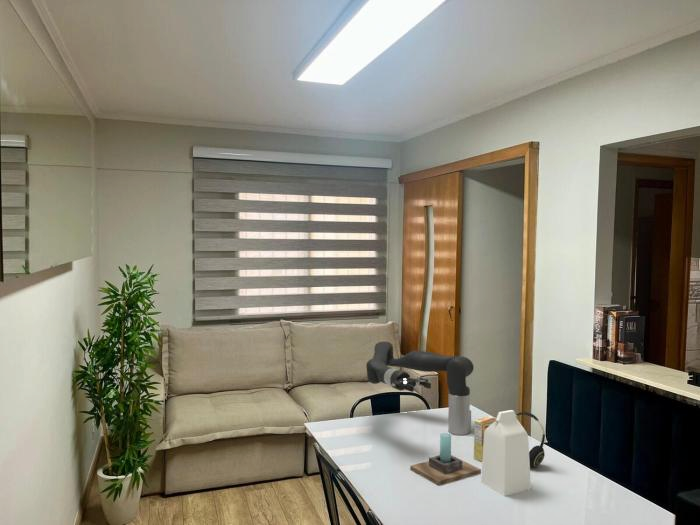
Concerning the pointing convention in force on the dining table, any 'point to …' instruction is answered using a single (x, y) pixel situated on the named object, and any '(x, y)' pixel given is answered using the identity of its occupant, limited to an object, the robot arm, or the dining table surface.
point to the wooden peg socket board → (444, 470)
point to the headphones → (536, 452)
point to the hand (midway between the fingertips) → (421, 387)
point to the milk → (506, 455)
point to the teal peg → (445, 448)
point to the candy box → (480, 435)
